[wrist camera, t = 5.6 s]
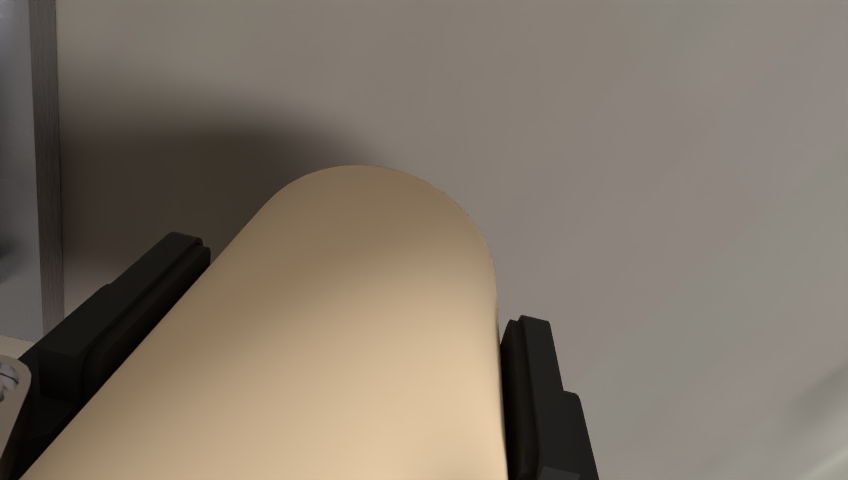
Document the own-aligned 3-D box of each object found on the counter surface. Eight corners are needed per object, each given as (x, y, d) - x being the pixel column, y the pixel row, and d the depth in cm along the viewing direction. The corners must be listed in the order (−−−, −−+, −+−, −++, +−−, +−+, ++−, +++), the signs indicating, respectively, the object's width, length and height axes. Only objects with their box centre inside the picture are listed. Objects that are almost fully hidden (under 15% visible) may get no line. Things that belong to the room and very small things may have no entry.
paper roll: (529, 202, 13) (669, 822, 3) (459, 414, 15) (434, 1090, 6) (253, 135, 12) (-355, 594, 3) (230, 360, 15) (-150, 967, 6)
